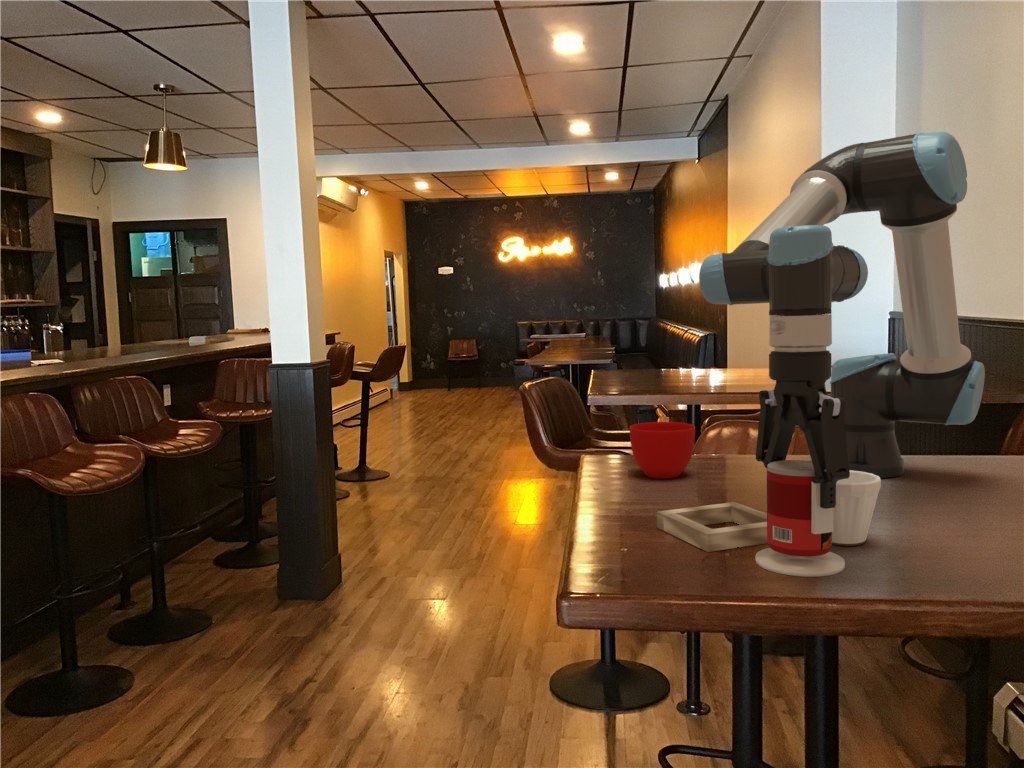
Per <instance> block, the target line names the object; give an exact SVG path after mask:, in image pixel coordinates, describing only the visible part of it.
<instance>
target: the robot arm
mask: <svg viewBox="0 0 1024 768" xmlns="http://www.w3.org/2000/svg"><path fill="white" fill-rule="evenodd" d="M967 172H968V171H967V165H966V160H965V155H964V153H963V151H962V147H961V144H959V142H958V140H957V139H956V138H955V136H953V135H952V134H951V133H949V132H947V131H935V132H926V133H925V132H918V133H913V134H908V135H902V136H897V137H892V138H886V139H885V138H884V139H879V140H874V141H867V142H859V143H854V144H850V145H847V146H844V147H842V148H840V149H838V150H835V151H834V152H832V153H830V154H828V155H826V156H825V157H823V158H821V159H820V160H819V161H816V162H814V164H813V165H811V166H810V167H808V168H807V169H806V170H804V171H803V172H802V174H800V175H799V176H798V177H797V178H796V179H795V180H794V182H793V183H792V185H791V186H790V187H791V188H790V190H789V195H788V196H786V197H785V198H784V200H782V201H781V203H779V205H778V206H777V207H776V208H775V209H773V211H772V212H771V213H770V214H768V216H767V217H766V218H765V219H763V221H762V222H761V223H759V225H757V226H756V228H755V229H754V230H753V231H752V232H750V233H749V235H748V236H747V237H746V238H745V239H743V241H741V243H740V244H739V245H738V246H737V247H735V249H734V250H733V251H731V252H726V253H725V252H720V253H718V254H717V253H716V254H711V255H708V256H707V257H706V258H705V259H703V260H702V261H703V262H702V263H701V266H700V268H699V273H698V274H699V275H698V276H699V277H698V281H699V287H700V290H701V291H700V292H701V294H702V296H703V298H704V299H705V301H706V302H708V303H710V304H712V305H728V306H734V305H752V304H754V305H755V304H756V305H757V304H768V306H769V310H768V315H769V330H768V331H769V332H768V333H769V339H768V340H769V341H768V342H769V343H768V345H769V346H770V347H771V348H773V349H774V350H773V351H771V350H770V353H769V354H768V376H769V379H771V380H772V381H775V386H774V388H773V389H766V390H764V389H763V390H760V391H759V392H758V397H759V398H758V399H759V406H760V407H759V408H760V410H759V417H758V418H759V420H758V427H757V429H758V430H757V436H756V437H757V438H756V439H757V440H756V446H755V447H756V448H755V460H756V461H757V462H761V463H763V466H764V468H765V469H767V465H768V464H769V463H771V462H775V461H782V460H787V456H788V453H789V450H790V446H791V444H792V443H791V442H792V439H793V436H794V432H795V430H796V427H797V425H798V428H799V430H801V431H803V434H804V437H805V442H806V444H807V448H808V452H809V455H810V459H811V460H810V461H812V464H813V467H814V471H815V475H816V479H813V480H812V520H811V533H813V534H822V533H828V532H833V508H835V505H836V483H837V481H838V480H842V479H847V478H849V476H850V471H849V470H853V471H862V472H867V473H871V474H874V475H877V476H879V477H880V479H887V478H895V477H899V476H903V475H904V474H905V461H904V459H903V458H902V457H901V451H900V448H899V444H898V441H897V437H896V434H895V431H896V430H895V426H896V424H895V423H896V422H906V423H908V422H909V423H923V424H925V423H926V424H937V425H945V426H949V425H958V426H959V425H961V426H962V425H963V426H964V425H965V426H966V425H968V424H971V423H972V422H973V421H975V419H976V416H977V415H978V412H979V409H980V406H981V402H982V399H983V392H984V385H985V376H986V369H985V365H984V364H983V362H980V361H977V360H974V361H973V358H972V352H971V350H970V348H969V347H967V346H966V345H964V344H962V343H961V335H960V328H959V317H958V316H959V315H958V308H957V299H956V298H957V297H956V288H955V287H956V285H955V278H954V277H955V276H954V268H953V258H952V249H951V246H952V245H951V237H950V229H949V227H950V226H949V220H950V219H952V217H953V216H954V215H955V214H956V212H957V210H958V205H957V204H959V203H961V202H963V200H964V199H965V198H966V196H967V191H968V181H967V178H968V173H967ZM867 212H868V213H869V212H879V217H880V223H881V225H882V226H884V227H885V228H887V229H889V230H890V231H891V233H892V242H893V248H894V255H895V264H896V270H897V278H898V279H897V280H898V286H899V293H900V294H899V295H900V302H901V309H902V315H903V316H902V318H903V325H904V331H905V339H906V347H907V349H906V350H905V351H904V352H903V353H902V354H901V356H900V358H899V360H897V356H896V354H895V353H893V352H891V353H890V352H889V353H881V354H880V353H879V354H870V355H862V356H853V357H846V358H840V359H838V360H836V361H835V362H834V363H832V352H831V351H830V350H828V349H827V347H830V346H831V345H832V344H833V333H832V332H833V328H832V327H833V325H832V324H833V323H832V321H833V319H832V315H833V314H832V303H835V302H837V303H841V302H844V301H846V300H850V299H852V298H854V297H856V296H857V295H858V294H859V293H860V292H861V291H863V289H864V287H865V285H866V283H867V281H868V278H869V275H868V274H869V270H868V265H867V261H866V260H865V258H864V257H863V256H862V255H861V253H859V252H858V251H857V250H855V249H852V248H850V247H848V246H845V245H840V244H839V245H834V243H833V240H832V238H833V237H832V230H831V228H830V227H829V226H826V225H827V224H829V223H832V222H835V221H836V220H837V219H838V218H839V217H840V216H844V215H848V214H855V213H856V214H857V213H867ZM828 380H830V382H829V384H830V395H828V391H827V389H826V382H827V381H828ZM825 469H826V472H825Z"/></svg>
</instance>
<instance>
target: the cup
mask: <svg viewBox="0 0 1024 768" xmlns="http://www.w3.org/2000/svg"><path fill="white" fill-rule="evenodd" d="M849 471H850V476H849V478H847V479H842V480H838V481H837V483H836V505H835V508H833V532H832V545H834V546H843V547H849V546H850V547H855V546H860V545H863V544H864V543H866V541H867V538H868V534H869V530H870V526H871V523H872V519H873V515H874V511H875V508H876V504H877V501H878V496H879V493H880V490H881V487H882V478H880V477H879V476H877V475H874V474H871V473H867V472H862V471H853V470H849Z"/></svg>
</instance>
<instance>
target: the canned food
mask: <svg viewBox="0 0 1024 768" xmlns="http://www.w3.org/2000/svg"><path fill="white" fill-rule="evenodd" d="M825 472H826V469H825ZM813 479H816V475H815V471H814V467H813V464H812V460H805V459H803V460H802V459H801V460H800V459H795V460H794V459H786V460H782V461H775V462H771V463H769V464H768V465H767V468H766V514H767V541H768V543H767V545H768V548H771V549H772V550H774V551H776V552H778V553H782V554H786V555H792V556H805V557H809V556H820V555H824V554H826V553H828V552H831V548H832V545H833V544H832V532H828V533H822V534H813V533H811V520H812V480H813Z"/></svg>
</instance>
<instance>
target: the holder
mask: <svg viewBox="0 0 1024 768" xmlns="http://www.w3.org/2000/svg"><path fill="white" fill-rule="evenodd" d="M724 522H725V523H733V522H734V523H733V524H736V523H737V524H736V525H732V526H724V527H718V528H711V527H708V526H710V525H716V524H723V523H724ZM738 524H739V525H738ZM656 528H657V529H659V530H661V531H662V532H663V531H664V532H665V533H668V534H670V535H672V536H674V537H676V538H678V539H679V540H682V541H684V542H686V543H689V544H690V545H693V546H694V547H697V548H699V549H700V550H703V551H704V552H706V553H710V552H711V553H712V552H718V551H723V550H731V549H738V548H737V547H739V548H745V546H746V547H753V546H760V545H765V544H768V541H767V512H763V511H760V510H758V509H755V508H753V507H751V506H747V505H744V504H742V503H738V502H736V501H731V502H724V503H723V502H721V503H716V504H715V503H714V504H708V505H707V504H706V505H700V506H692V507H683V508H674V509H668V510H667V509H666V510H659V511H656Z"/></svg>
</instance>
